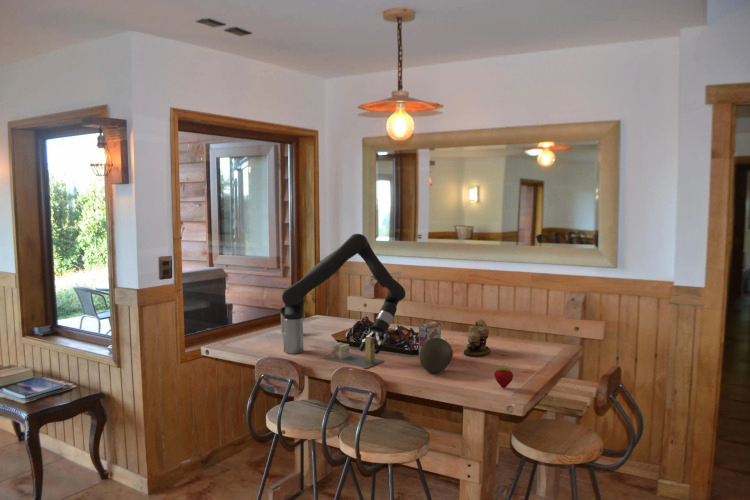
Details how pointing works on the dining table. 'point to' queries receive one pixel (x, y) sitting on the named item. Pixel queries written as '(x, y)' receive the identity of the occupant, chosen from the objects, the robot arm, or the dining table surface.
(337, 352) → the cube
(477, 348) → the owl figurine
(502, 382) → the strawberry
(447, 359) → the coconut
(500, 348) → the dining table surface
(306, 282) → the robot arm
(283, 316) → the glass holder
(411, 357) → the dining table surface
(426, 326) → the candy bar box
